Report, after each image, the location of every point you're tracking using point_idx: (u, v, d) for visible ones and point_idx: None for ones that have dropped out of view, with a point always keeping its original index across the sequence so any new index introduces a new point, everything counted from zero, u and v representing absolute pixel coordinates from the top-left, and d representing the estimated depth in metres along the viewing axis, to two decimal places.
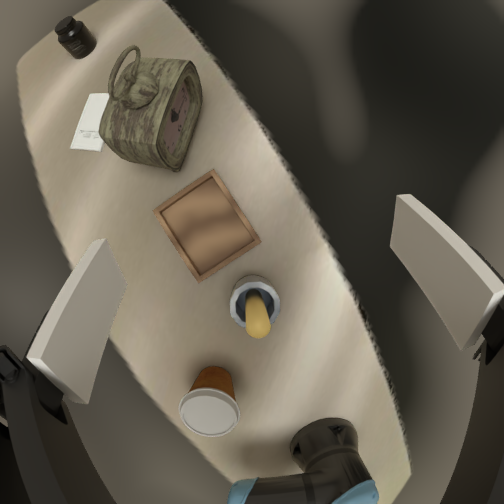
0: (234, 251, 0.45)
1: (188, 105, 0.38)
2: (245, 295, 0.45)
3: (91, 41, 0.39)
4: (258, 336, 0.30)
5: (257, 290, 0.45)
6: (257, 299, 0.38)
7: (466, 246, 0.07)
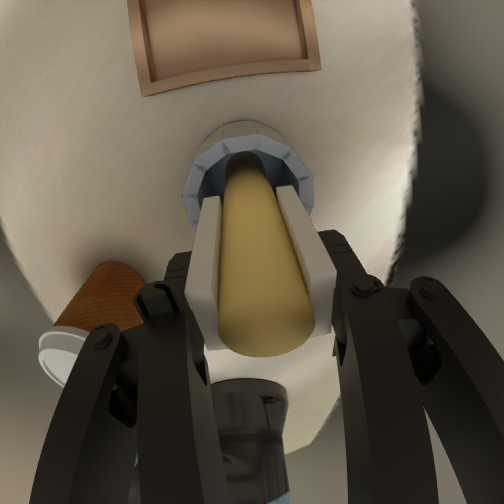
0: (250, 61, 0.16)
1: None
2: (230, 158, 0.19)
3: None
4: (249, 351, 0.08)
5: (260, 159, 0.19)
6: (267, 189, 0.13)
7: (313, 230, 0.09)
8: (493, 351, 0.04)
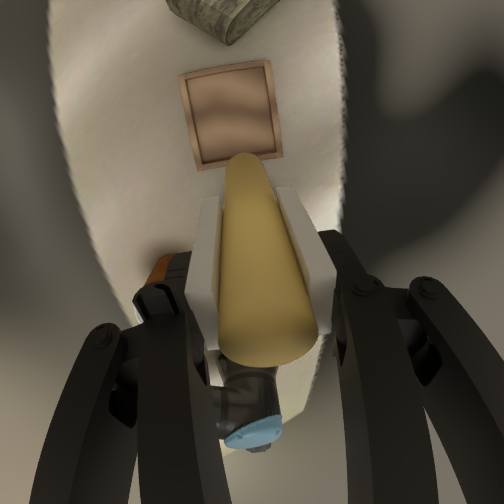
0: (249, 152, 0.37)
1: None
2: (230, 160, 0.19)
3: None
4: (250, 362, 0.08)
5: (260, 160, 0.19)
6: (268, 193, 0.13)
7: (312, 230, 0.09)
8: (493, 351, 0.04)
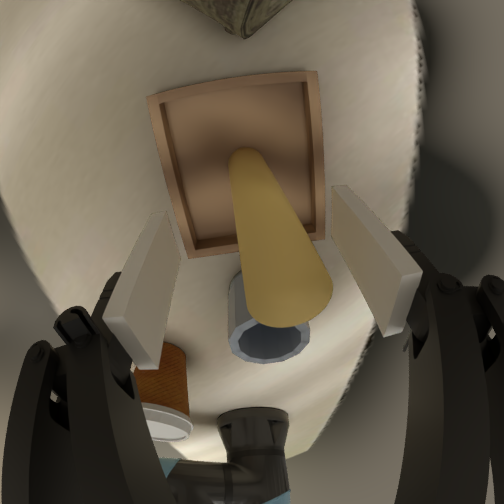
0: None
1: None
2: (232, 154, 0.20)
3: None
4: (273, 322, 0.09)
5: (260, 154, 0.20)
6: (274, 180, 0.14)
7: (386, 231, 0.09)
8: None
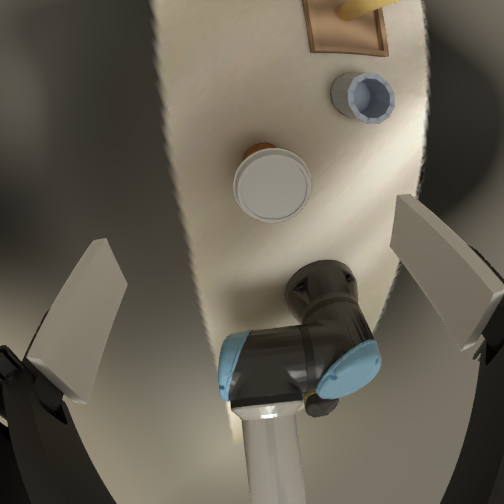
0: (358, 47, 0.30)
1: None
2: (339, 7, 0.26)
3: None
4: None
5: None
6: None
7: (466, 246, 0.07)
8: None
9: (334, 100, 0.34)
